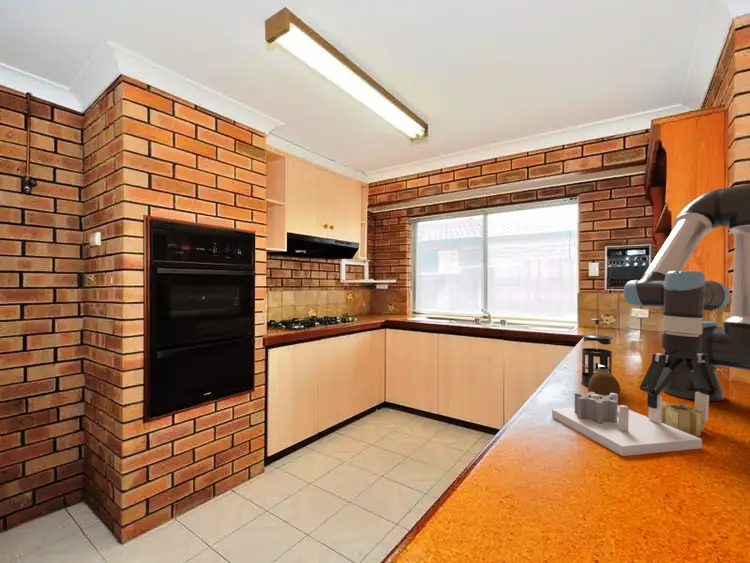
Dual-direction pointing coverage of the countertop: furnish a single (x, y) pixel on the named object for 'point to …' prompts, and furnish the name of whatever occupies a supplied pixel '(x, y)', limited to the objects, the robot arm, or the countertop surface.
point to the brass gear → (683, 418)
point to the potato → (603, 384)
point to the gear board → (634, 438)
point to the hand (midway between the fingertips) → (677, 420)
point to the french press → (591, 353)
